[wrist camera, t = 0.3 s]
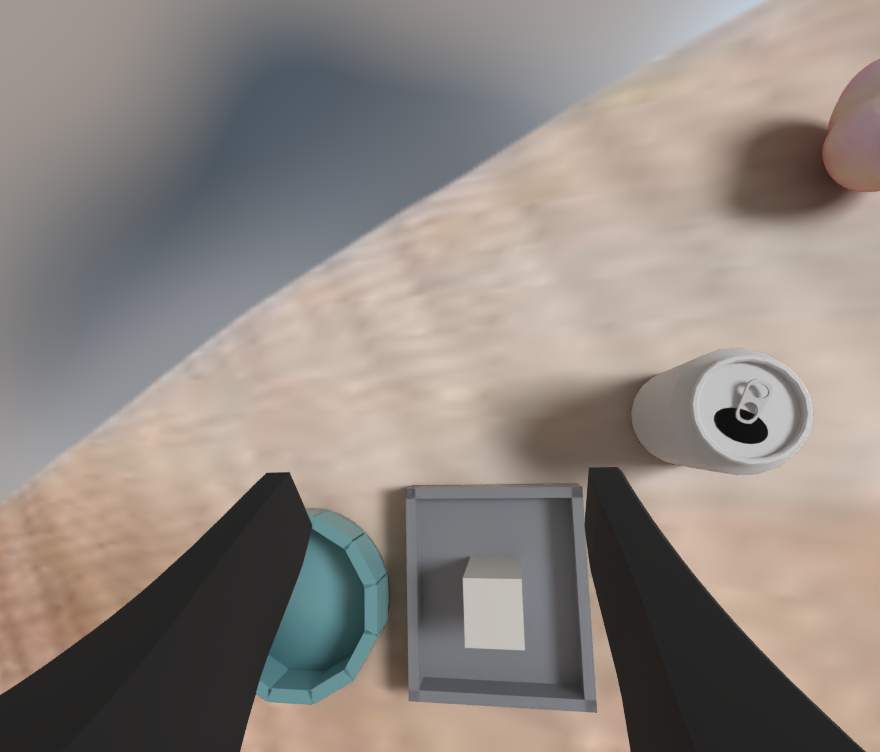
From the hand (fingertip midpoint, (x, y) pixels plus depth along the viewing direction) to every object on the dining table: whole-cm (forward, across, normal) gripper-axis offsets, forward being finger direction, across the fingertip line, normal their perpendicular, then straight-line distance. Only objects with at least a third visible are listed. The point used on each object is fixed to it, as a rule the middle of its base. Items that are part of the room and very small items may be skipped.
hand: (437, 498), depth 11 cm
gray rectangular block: (+14, 0, +26) cm, 30 cm away
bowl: (+13, +16, +28) cm, 35 cm away
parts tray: (+14, 0, +27) cm, 30 cm away
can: (+23, -15, +17) cm, 32 cm away
